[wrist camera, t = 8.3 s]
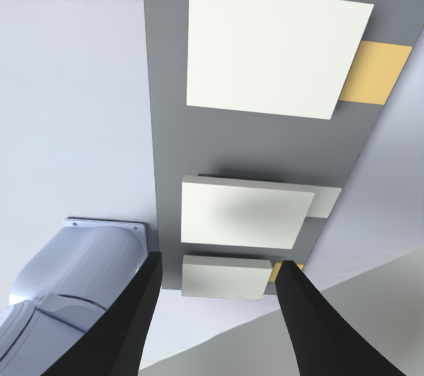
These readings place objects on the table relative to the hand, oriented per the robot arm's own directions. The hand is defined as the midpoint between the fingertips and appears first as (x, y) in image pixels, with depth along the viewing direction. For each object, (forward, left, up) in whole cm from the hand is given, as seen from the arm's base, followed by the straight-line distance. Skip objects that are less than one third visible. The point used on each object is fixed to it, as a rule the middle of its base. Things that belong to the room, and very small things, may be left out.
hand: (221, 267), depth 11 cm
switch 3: (+2, -11, -8) cm, 14 cm away
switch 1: (+2, +11, -8) cm, 14 cm away
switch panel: (+3, 0, -10) cm, 11 cm away
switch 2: (+2, 0, -6) cm, 6 cm away
